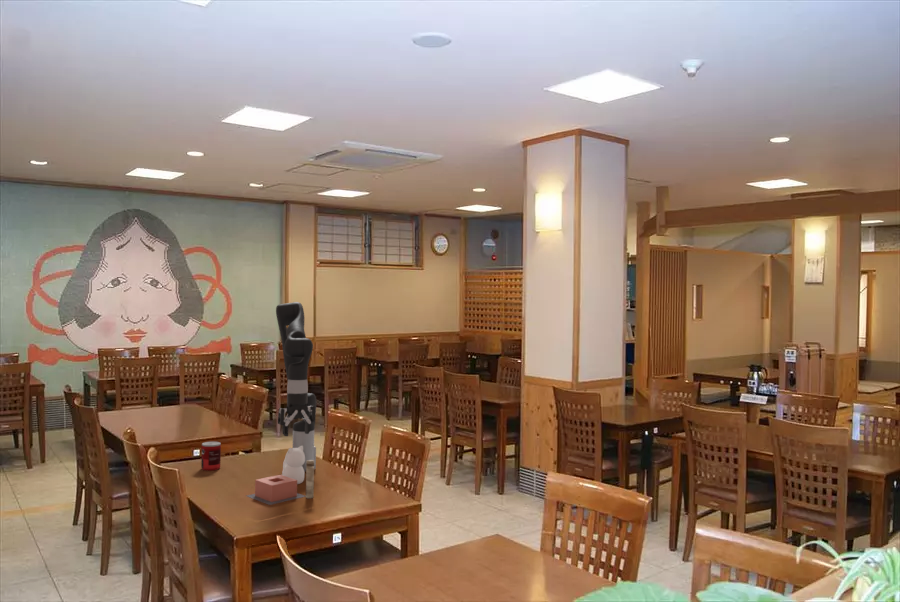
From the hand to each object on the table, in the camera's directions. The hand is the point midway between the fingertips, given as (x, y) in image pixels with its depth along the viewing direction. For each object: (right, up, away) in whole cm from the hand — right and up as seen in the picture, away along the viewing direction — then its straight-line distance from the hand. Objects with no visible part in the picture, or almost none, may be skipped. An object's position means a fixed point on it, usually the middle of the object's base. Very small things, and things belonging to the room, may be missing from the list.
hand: (296, 434), depth 261 cm
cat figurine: (-6, -24, +21) cm, 32 cm away
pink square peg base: (-8, -23, 0) cm, 24 cm away
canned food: (-46, -23, +41) cm, 66 cm away
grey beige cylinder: (+5, -24, -1) cm, 24 cm away
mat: (-8, -23, 0) cm, 25 cm away
